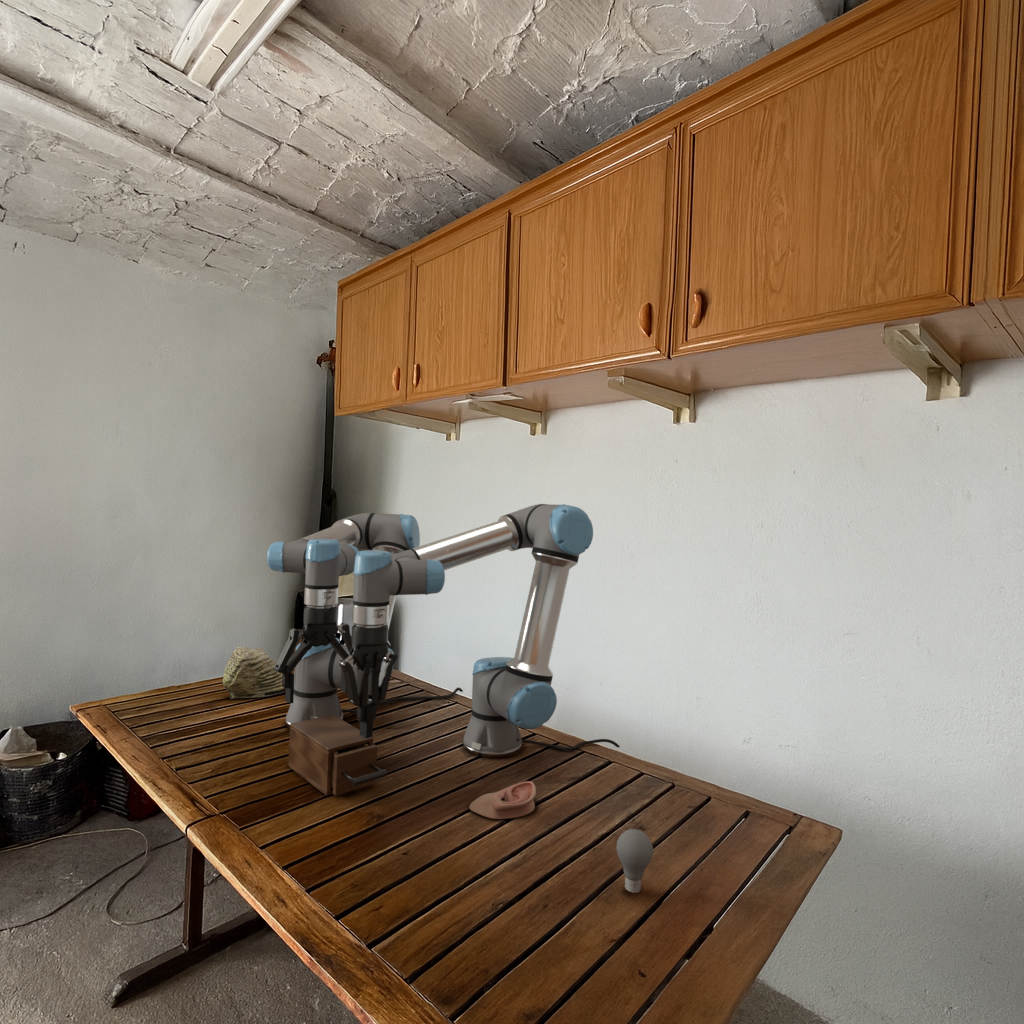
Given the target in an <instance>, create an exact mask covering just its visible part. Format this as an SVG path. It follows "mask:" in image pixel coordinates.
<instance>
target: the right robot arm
mask: <svg viewBox="0 0 1024 1024" xmlns="http://www.w3.org/2000/svg"><path fill="white" fill-rule="evenodd" d="M593 538H594V527H593V523H592V520H591V519H590V517H589V515H588V513H586V511H585V510H584V509H582V508H580V507H578V506H574V505H571V504H549V503H548V504H547V503H538V504H533V505H529V506H526V507H524V508H521V509H517V510H515V511H512V512H511V513H507V514H503V515H501V516H500V517H499V518H498V520H497V521H495V522H491V523H489V524H485V525H482V526H479V527H476V528H473V529H470V530H466V531H463V532H460V533H457V534H454V535H451V536H447V537H445V538H441V539H438V540H434V541H431V542H429V543H426V544H422V545H419V547H416V548H413V549H410V550H406V551H403V552H400V553H390V552H387V551H375V550H359V552H358V553H357V554H356V557H355V565H354V572H352V574H353V591H352V592H353V593H352V595H353V596H352V597H353V598H352V599H353V600H352V614H351V622H352V623H353V625H352V626H351V636H352V637H351V642H352V649H351V651H350V656H349V657H347V658H346V659H345V660H340V661H339V665H340V667H341V668H342V670H343V673H344V678H345V684H346V689H347V693H346V694H347V699H348V703H349V704H351V705H352V706H355V707H356V710H357V713H356V720H357V722H359V730H360V735H361V736H363V737H364V738H370V737H373V732H374V731H373V730H374V720H376V718H377V711H378V710H377V709H378V707H379V706H380V705H379V704H380V702H381V701H385V700H386V697H387V694H388V693H387V692H388V689H389V685H390V680H391V677H392V674H393V671H392V668H393V669H394V667H393V665H394V666H395V663H396V661H397V660H398V657H399V656H398V654H395V653H394V654H393V653H391V652H389V651H388V647H387V642H388V641H389V630H388V626H387V625H386V624H387V623H388V620H389V604H390V601H389V599H390V595H396V596H409V595H410V596H411V595H413V596H414V595H418V596H419V595H425V596H427V595H432V594H439V593H440V592H441V591H442V590H443V588H444V585H445V580H446V573H445V571H448V570H450V569H453V568H456V567H460V566H462V565H465V564H468V563H470V562H473V561H476V560H480V559H483V558H485V557H489V556H491V555H495V554H497V553H499V552H503V551H505V550H508V551H510V552H514V551H518V550H521V549H531V552H530V553H531V555H532V557H533V559H534V560H535V565H534V567H533V568H534V569H533V573H532V577H531V581H530V586H529V590H528V594H527V599H526V604H525V608H524V612H523V617H522V622H521V626H520V630H519V635H518V640H517V643H516V648H515V653H514V657H507V656H494V657H483V658H479V659H477V660H475V662H474V663H473V669H472V674H471V675H472V686H471V687H472V689H471V714H470V715H471V716H470V719H469V721H468V724H467V726H466V729H465V733H464V735H463V739H462V747H463V749H464V750H465V751H466V752H467V753H469V754H471V755H474V756H477V757H481V758H487V759H488V758H489V759H501V758H507V757H508V758H509V757H512V756H515V755H516V754H518V753H519V752H521V751H522V748H523V747H522V746H523V743H524V744H532V745H537V746H542V747H546V748H547V747H548V748H551V749H555V750H559V751H574V750H576V749H578V748H579V747H581V746H585V745H591V744H597V743H609V744H612V745H613V746H615V747H616V748H620V747H621V746H620V745H619V744H618V742H616V741H614V740H611V739H609V738H599V739H598V738H597V739H593V740H586V741H581V742H578V743H577V744H576V745H574V746H569V747H565V746H559V745H555V744H551V743H547V742H542V741H538V740H537V741H536V740H530V739H525V738H522V734H521V732H520V728H521V729H524V730H535V729H538V728H540V727H543V725H544V724H545V723H548V721H549V720H550V719H551V718H552V717H553V715H554V713H555V711H556V708H557V703H558V698H557V694H556V693H555V692H556V691H555V689H554V688H553V686H552V682H553V678H554V672H553V671H552V669H551V667H550V661H551V657H552V653H553V648H554V645H555V644H554V643H555V638H556V634H557V630H558V625H559V620H560V616H561V611H562V606H563V603H564V598H565V593H566V590H567V584H568V579H569V575H570V570H571V569H573V567H575V566H577V565H578V562H579V560H580V559H579V557H580V555H581V554H583V553H585V552H586V550H588V549H589V547H591V544H592V543H593ZM383 659H384V661H383ZM353 661H354V663H355V664H356V666H357V669H356V670H357V673H358V675H357V684H356V679H355V673H354V670H353V667H354V665H353ZM382 661H383V663H382ZM381 663H382V667H381ZM379 673H380V675H379ZM391 673H392V674H391ZM519 727H520V728H519Z"/></svg>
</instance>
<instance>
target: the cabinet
mask: <svg viewBox="0 0 1024 1024" xmlns="http://www.w3.org/2000/svg"><path fill="white" fill-rule="evenodd" d="M288 739H289V741H288V767H289V768H290V769H291V770H293V771H294V772H295V773H296V774H298V775H299V776H300V777H302V778H303V779H304V780H305V781H307V782H308V783H309V784H311V785H312V786H313V787H314V788H316V789H317V790H319V791H320V792H321V793H322V794H324V795H325V796H326V797H328V796H332V795H334V794H333V788H331V762H332V752H334V751H337V750H341V749H345V748H349V747H353V746H356V745H360V744H364V743H367V744H368V746H371V745H374V737H373V736H372V737H370V738H364V737H363V736H361V735H360V728H357V727H356V726H353V724H350V723H349V722H346V721H345V720H344V719H343V720H341V719H340V718H338V717H336V716H334V715H333V714H332V715H328V716H323V717H319V718H314V719H310V720H305V721H300V722H296V723H291V724H290V729H289V738H288Z"/></svg>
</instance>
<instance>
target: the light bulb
mask: <svg viewBox="0 0 1024 1024" xmlns="http://www.w3.org/2000/svg"><path fill="white" fill-rule="evenodd" d="M615 849H616V854H617V857H618V859H619V861H620V863H621V865H622V867H623V873H624V874H623V875H624V876H625V878H624V888H625V890H627V891H628V892H630V893H634V894H635V893H639V892H640V891H641V889H642V887H641V886H642V879H643V877H644V875H645V871H646V868H647V867H648V866H649V864H650V863H651V861H652V859H653V855H654V847H653V843H652V841H651V838H649V836H648V835H647V834H646V833H645V832H643V831H642V830H641V829H636V828H629V829H627V830H625V831H623V832H622V833H621V834H620V835H619V837H618V839H617V841H616V847H615Z"/></svg>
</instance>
